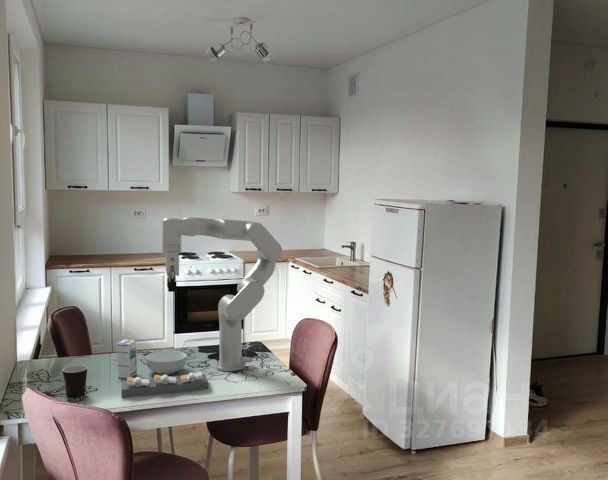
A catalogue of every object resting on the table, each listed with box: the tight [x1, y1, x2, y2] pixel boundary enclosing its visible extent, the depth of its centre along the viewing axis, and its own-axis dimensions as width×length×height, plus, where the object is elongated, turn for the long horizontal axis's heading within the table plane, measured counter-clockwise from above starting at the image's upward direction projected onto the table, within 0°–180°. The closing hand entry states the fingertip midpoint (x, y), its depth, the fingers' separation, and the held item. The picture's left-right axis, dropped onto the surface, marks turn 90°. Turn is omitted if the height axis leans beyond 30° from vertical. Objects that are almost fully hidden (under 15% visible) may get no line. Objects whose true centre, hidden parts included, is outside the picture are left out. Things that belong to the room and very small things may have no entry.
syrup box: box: [115, 339, 138, 379], centre depth 234 cm, size 6×6×14 cm
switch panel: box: [120, 373, 209, 399], centre depth 220 cm, size 32×10×3 cm, turn 107°
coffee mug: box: [62, 364, 88, 399], centre depth 214 cm, size 12×9×10 cm
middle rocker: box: [153, 374, 176, 384], centre depth 217 cm, size 8×4×2 cm, turn 107°
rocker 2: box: [180, 371, 203, 383], centre depth 220 cm, size 8×4×2 cm, turn 107°
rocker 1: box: [126, 376, 150, 387], centre depth 215 cm, size 8×4×2 cm, turn 107°
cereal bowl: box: [145, 350, 188, 376], centre depth 240 cm, size 17×17×7 cm
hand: (171, 289), depth 235 cm, fingers open, 9 cm apart
